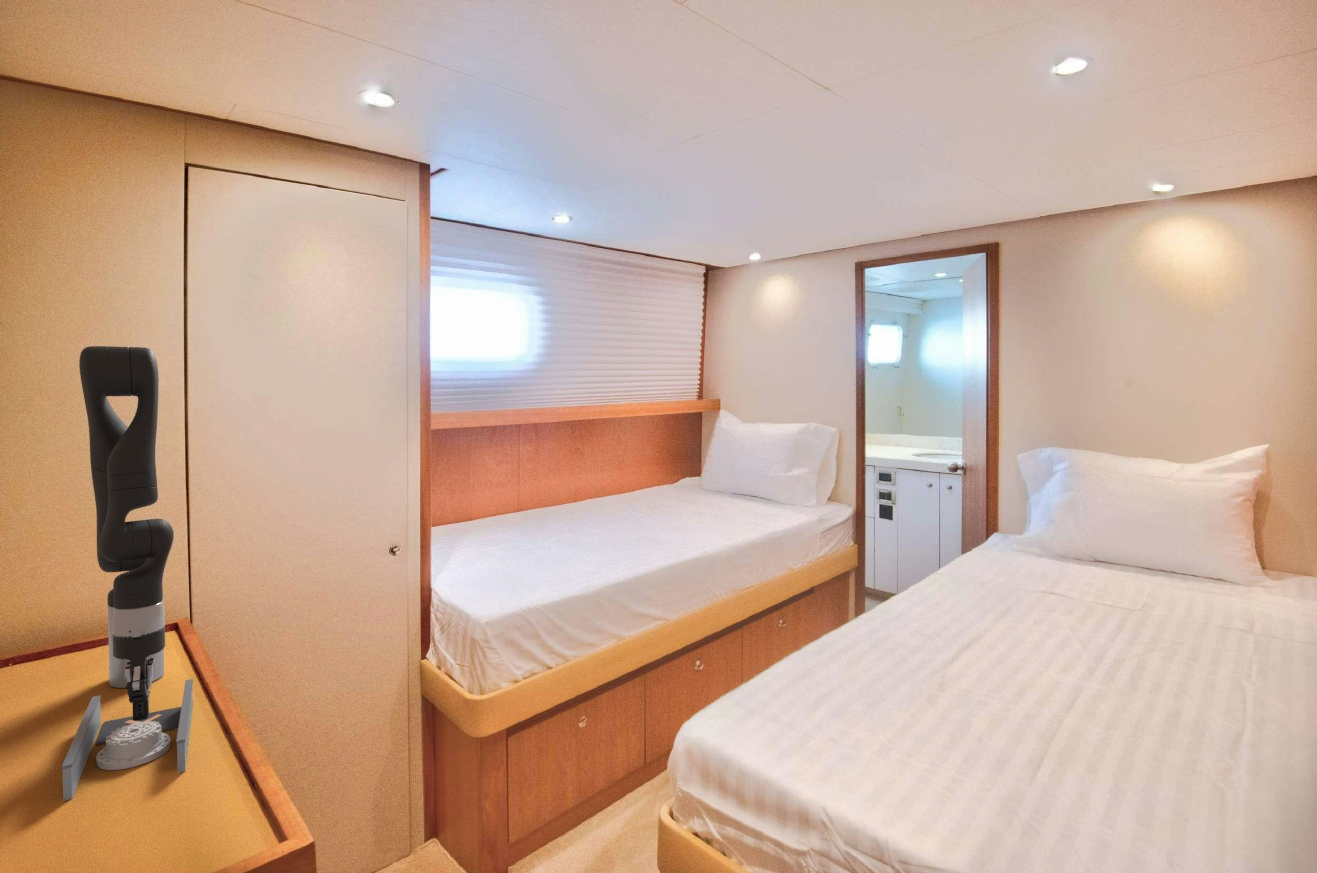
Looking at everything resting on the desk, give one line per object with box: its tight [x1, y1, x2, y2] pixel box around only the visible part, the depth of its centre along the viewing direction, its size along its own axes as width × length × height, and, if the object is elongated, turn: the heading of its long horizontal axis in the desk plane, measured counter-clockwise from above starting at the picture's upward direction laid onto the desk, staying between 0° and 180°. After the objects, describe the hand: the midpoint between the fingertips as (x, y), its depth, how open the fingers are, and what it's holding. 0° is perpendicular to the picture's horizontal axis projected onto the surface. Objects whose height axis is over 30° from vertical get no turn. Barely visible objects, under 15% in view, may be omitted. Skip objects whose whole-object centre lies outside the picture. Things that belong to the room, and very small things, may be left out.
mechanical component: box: [95, 721, 172, 771], centre depth 110 cm, size 10×4×10 cm
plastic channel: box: [61, 678, 194, 802], centre depth 112 cm, size 26×15×6 cm, turn 34°
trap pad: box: [95, 706, 182, 747], centre depth 120 cm, size 9×12×1 cm
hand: (140, 718), depth 119 cm, fingers closed
